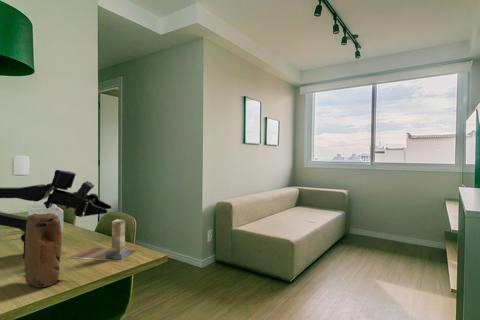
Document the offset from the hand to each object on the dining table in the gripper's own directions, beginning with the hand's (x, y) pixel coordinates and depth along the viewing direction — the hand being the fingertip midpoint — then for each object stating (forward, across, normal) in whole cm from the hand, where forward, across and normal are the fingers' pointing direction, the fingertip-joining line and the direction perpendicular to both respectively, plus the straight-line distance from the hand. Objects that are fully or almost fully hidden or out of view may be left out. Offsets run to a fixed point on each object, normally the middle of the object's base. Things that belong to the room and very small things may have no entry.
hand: (109, 209), depth 110 cm
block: (-9, -26, +20) cm, 34 cm away
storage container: (-29, +39, +26) cm, 55 cm away
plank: (+5, -9, +16) cm, 19 cm away
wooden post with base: (+9, -13, +13) cm, 20 cm away
